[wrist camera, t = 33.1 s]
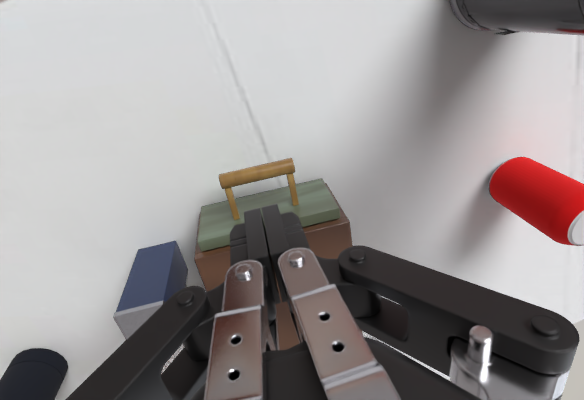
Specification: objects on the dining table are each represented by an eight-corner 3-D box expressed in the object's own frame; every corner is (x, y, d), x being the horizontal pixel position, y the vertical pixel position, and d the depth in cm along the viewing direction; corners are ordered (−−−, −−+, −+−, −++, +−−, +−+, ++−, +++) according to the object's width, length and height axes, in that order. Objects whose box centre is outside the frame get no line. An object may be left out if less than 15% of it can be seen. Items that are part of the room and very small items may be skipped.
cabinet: (199, 212, 40) (194, 259, 33) (326, 182, 41) (349, 221, 34) (234, 312, 48) (236, 369, 40) (340, 284, 49) (362, 335, 41)
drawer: (187, 165, 37) (180, 195, 31) (315, 136, 38) (333, 160, 31) (234, 303, 46) (236, 346, 40) (336, 277, 47) (353, 316, 41)
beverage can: (474, 191, 45) (550, 244, 35) (503, 147, 43) (594, 190, 33) (509, 204, 47) (591, 258, 37) (539, 162, 45) (635, 207, 35)
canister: (176, 239, 41) (162, 304, 32) (188, 269, 44) (179, 338, 34) (137, 249, 41) (112, 317, 32) (151, 278, 43) (132, 350, 34)
